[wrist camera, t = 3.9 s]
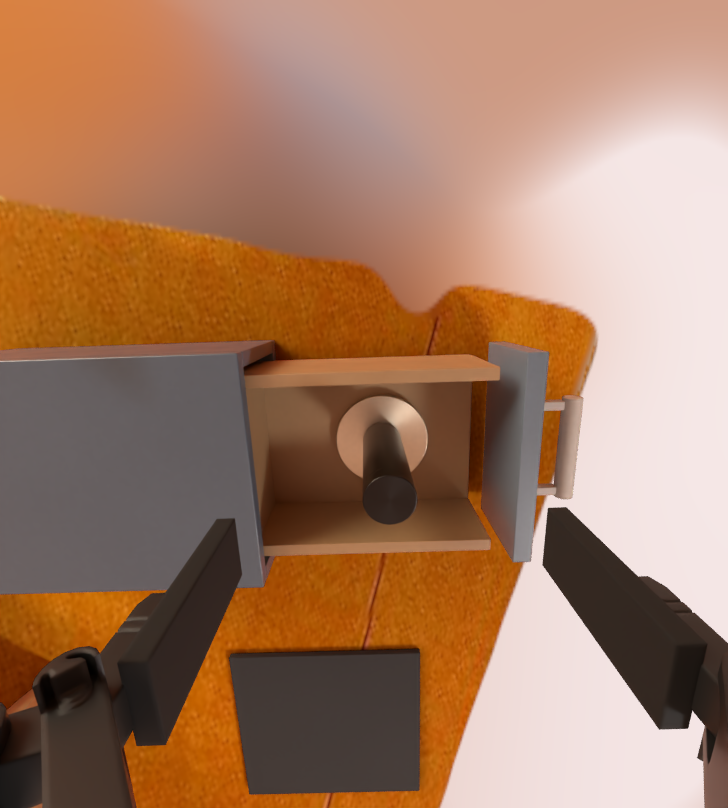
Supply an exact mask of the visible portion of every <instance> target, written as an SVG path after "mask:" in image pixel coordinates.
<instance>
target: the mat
mask: <svg viewBox="0 0 728 808" xmlns="http://www.w3.org/2000/svg"><path fill="white" fill-rule="evenodd" d="M229 661H230V668H231V674H232V681H233V688H234V694H235V701H236V708H237V714H238V721H239V728H240V734H241V741H242V748H243V754H244V761H245V768H246V774H247V781H248V788H249V794H291V793H335V792H379V791H419V744H420V651H419V649H397V650H358V651H319V652H281V653H242V654H231V655H230V657H229Z"/></svg>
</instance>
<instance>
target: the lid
mask: <svg viewBox="0 0 728 808" xmlns="http://www.w3.org/2000/svg"><path fill="white" fill-rule="evenodd" d="M427 444H428V433H427V428H426V425H425V422H424V420H423V418H422V416H421V415H420V413H419V412H418V410H417V409H416V408H415V407H414V406H413V405H411V404H410V403H409V402H407V401H406V400H404V399H402V398H400V397H397V396H394V395H388V394H376V395H371V396H367V397H365V398H362V399H360V400H358V401H357V402H355V403H354V404H353V405H351V406H350V407H349V408H348V409H347V411H346V412H345V413H344V415H343V416H342V418H341V420H340V422H339V425H338V428H337V434H336V445H337V450H338V453H339V456H340V458H341V460H342V461H343V463H344V464H345V466H346V467H347V468H348V469H349V470H350V471H351V472H353V473H354V474H355V475H357V476H359V477H360V478H363V507H364V509H365V511H366V513H367V514H368V515H369V516H370V517H371V518H372V519H373V520H375V521H376V522H379V523H381V524H386V525H393V524H398V523H401V522H403V521H405V520H406V519H408V518H409V517H410V516H411V515H412V514H413V512H414V510H415V509H416V506H417V500H418V499H417V492H416V489H415V485H414V482H413V478H412V475H411V472H412V471H413V470H414V469H415V468H416V467H417V466H418V465H419V463H420V462H421V461H422V459H423V457H424V455H425V452H426V449H427Z"/></svg>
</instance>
